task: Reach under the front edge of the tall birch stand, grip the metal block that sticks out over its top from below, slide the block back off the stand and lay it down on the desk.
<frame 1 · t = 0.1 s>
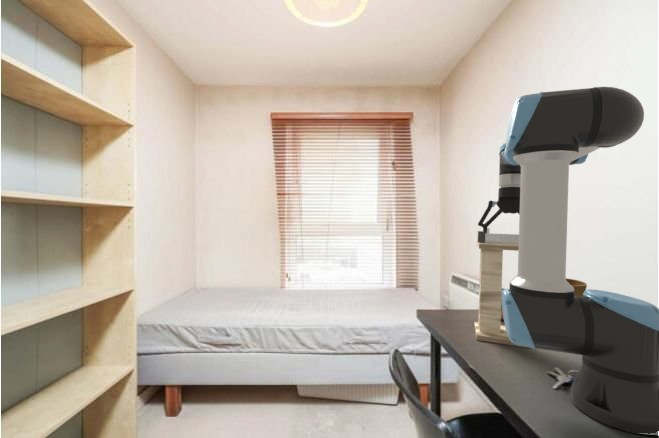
hand: (508, 247, 115), 28 cm above the table, tool pointing down, fingers open, 13 cm apart
plant pot: (559, 325, 118), on the table
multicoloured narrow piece: (497, 317, 126), on the table
metal block: (515, 243, 104), point 30 cm above the table, touching birch stand
birch stand: (499, 335, 106), on the table
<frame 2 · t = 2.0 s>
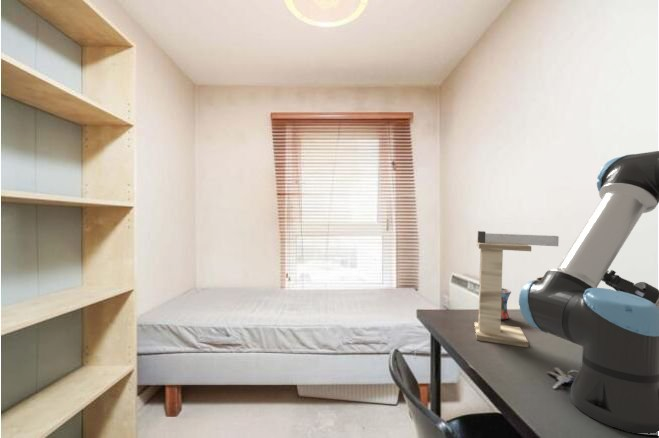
hand: (572, 258, 98), 26 cm above the table, tool pointing upward, fingers open, 13 cm apart
nothing on the table moved.
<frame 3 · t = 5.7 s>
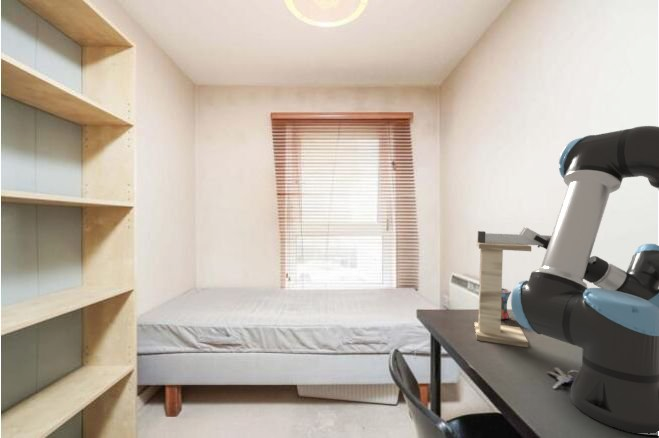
hand: (522, 231, 103), 34 cm above the table, tool pointing upward, fingers closed on metal block, 3 cm apart
metal block: (515, 243, 104), point 30 cm above the table, touching birch stand, gripper
everything else where it was.
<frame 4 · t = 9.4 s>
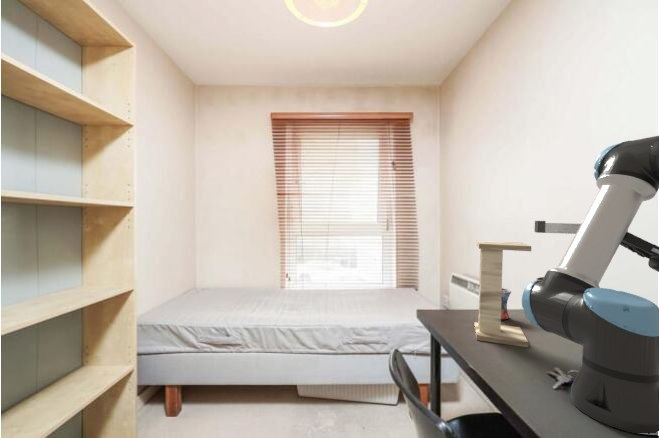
hand: (586, 219, 97), 38 cm above the table, tool pointing upward, fingers closed on metal block, 3 cm apart
metal block: (578, 233, 98), point 34 cm above the table, touching gripper
everything else where it was.
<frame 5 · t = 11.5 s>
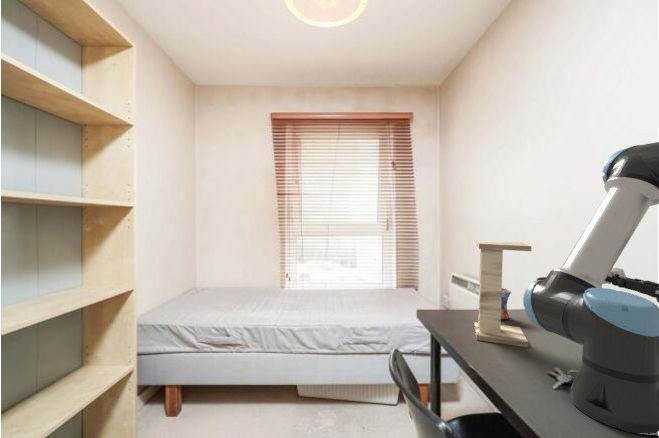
hand: (581, 271, 97), 23 cm above the table, tool horizontal, fingers closed on metal block, 3 cm apart
metal block: (579, 286, 97), point 18 cm above the table, tilted 18°, touching gripper
everything else where it was.
when the fingers open (12 cm above the table, at t = 13.3 s): metal block drops 8 cm, on the table.
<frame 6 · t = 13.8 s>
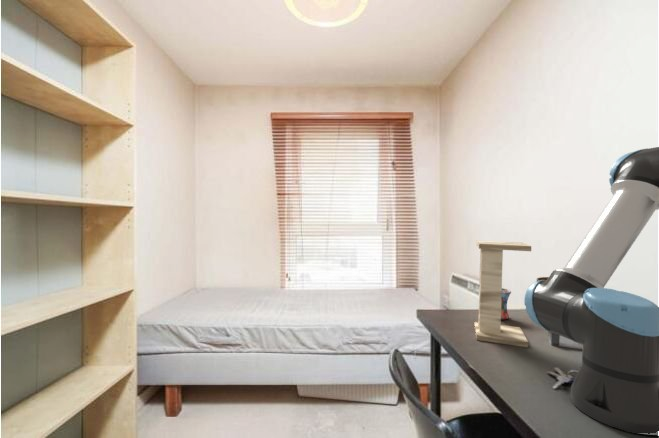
hand: (590, 307, 97), 12 cm above the table, tool horizontal, fingers open, 10 cm apart
metal block: (593, 348, 97), on the table
everything else where it was.
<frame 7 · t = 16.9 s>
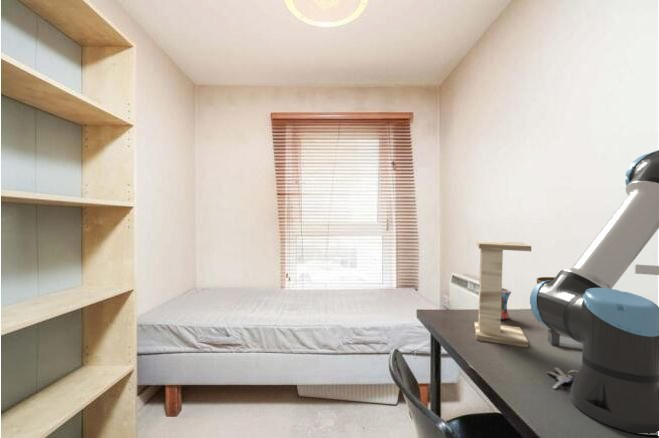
hand: (646, 272, 92), 24 cm above the table, tool horizontal, fingers open, 13 cm apart
nothing on the table moved.
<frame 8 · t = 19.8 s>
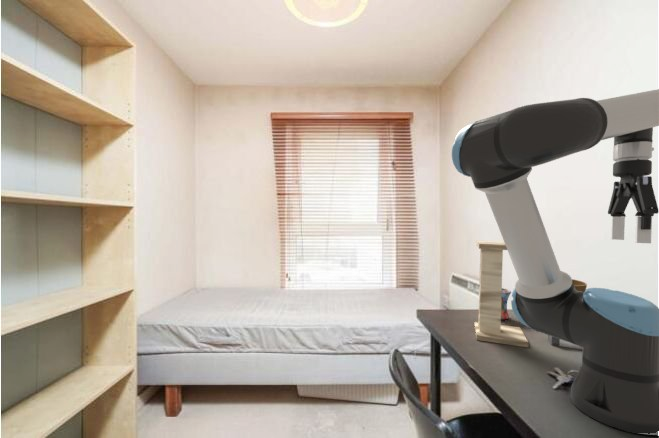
hand: (629, 241, 86), 33 cm above the table, tool pointing down, fingers open, 13 cm apart
nothing on the table moved.
at the end: metal block touching table; metal block inside the target area (3.0 cm from its centre), on the table; the gripper is holding nothing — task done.
